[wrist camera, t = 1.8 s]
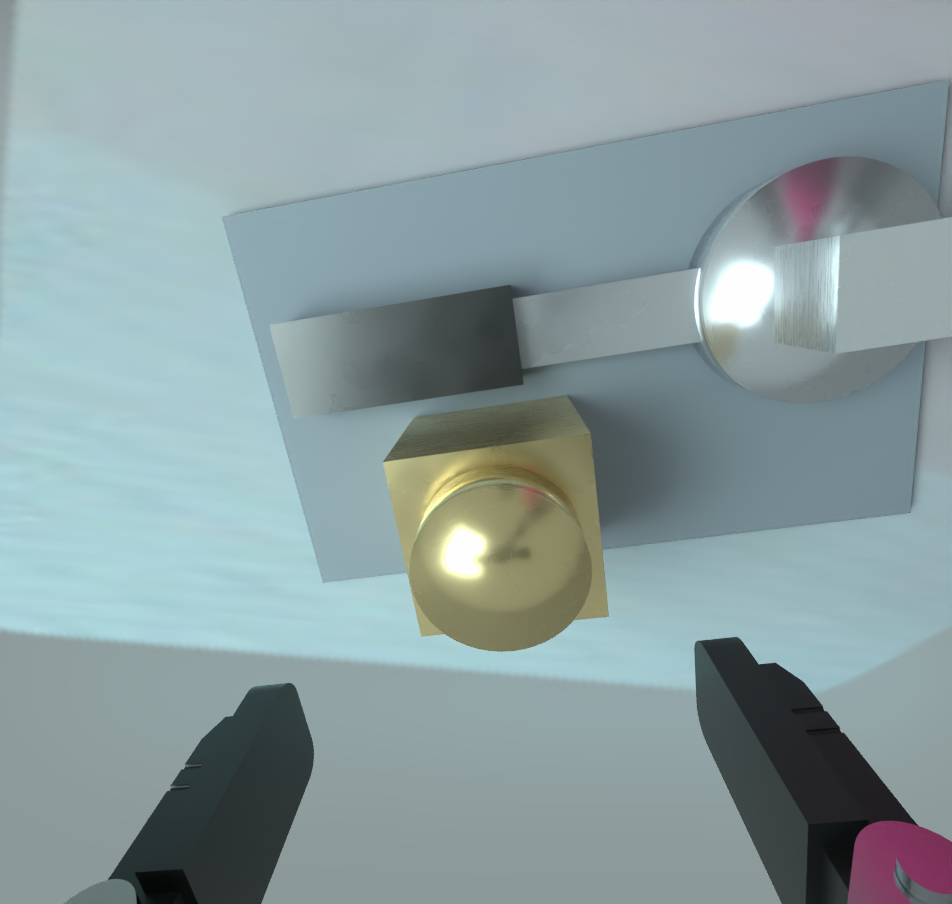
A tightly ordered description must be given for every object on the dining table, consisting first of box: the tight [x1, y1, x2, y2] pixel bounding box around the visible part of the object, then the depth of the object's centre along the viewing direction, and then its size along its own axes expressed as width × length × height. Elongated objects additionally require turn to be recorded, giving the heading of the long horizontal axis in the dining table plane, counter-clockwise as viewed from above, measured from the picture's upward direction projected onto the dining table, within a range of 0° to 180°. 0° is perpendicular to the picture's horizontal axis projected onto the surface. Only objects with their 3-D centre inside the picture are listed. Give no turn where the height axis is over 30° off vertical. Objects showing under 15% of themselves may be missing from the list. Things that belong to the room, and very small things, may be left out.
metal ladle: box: [269, 156, 952, 419], centre depth 18 cm, size 8×24×6 cm, turn 99°
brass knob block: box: [383, 395, 609, 651], centre depth 18 cm, size 6×6×8 cm
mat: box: [222, 79, 949, 582], centre depth 21 cm, size 16×26×1 cm, turn 99°
